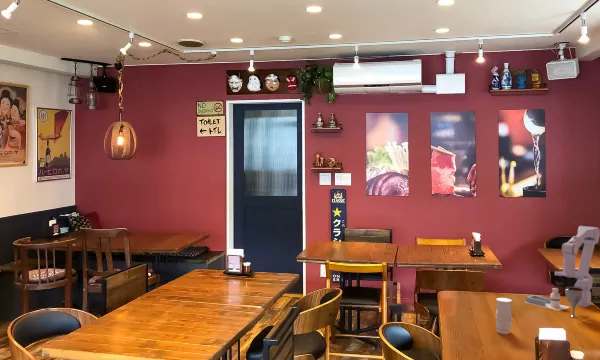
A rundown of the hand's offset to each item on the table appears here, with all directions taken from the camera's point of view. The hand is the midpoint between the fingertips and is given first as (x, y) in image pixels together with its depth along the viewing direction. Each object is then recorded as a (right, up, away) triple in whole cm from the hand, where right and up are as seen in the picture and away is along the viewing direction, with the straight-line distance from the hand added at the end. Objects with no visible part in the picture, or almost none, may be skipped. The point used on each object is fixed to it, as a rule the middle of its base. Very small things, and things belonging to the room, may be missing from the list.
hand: (568, 291), depth 274 cm
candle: (-48, -12, -34) cm, 60 cm away
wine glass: (-4, -11, -13) cm, 17 cm away
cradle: (-7, -10, +10) cm, 16 cm away
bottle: (-4, -10, +6) cm, 12 cm away
